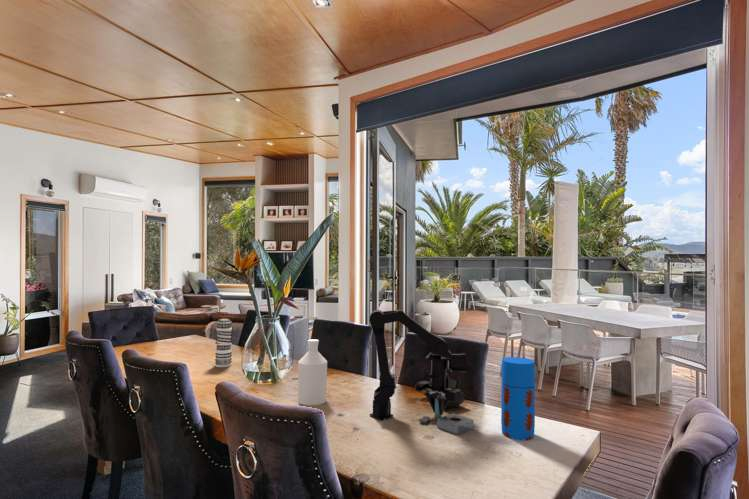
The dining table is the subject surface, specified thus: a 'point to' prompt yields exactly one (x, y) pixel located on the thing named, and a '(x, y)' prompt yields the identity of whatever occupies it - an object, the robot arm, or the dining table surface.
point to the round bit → (437, 409)
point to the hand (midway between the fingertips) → (438, 413)
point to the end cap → (453, 403)
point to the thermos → (518, 398)
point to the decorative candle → (223, 343)
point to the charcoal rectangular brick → (424, 420)
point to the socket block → (455, 423)
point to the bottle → (312, 376)
